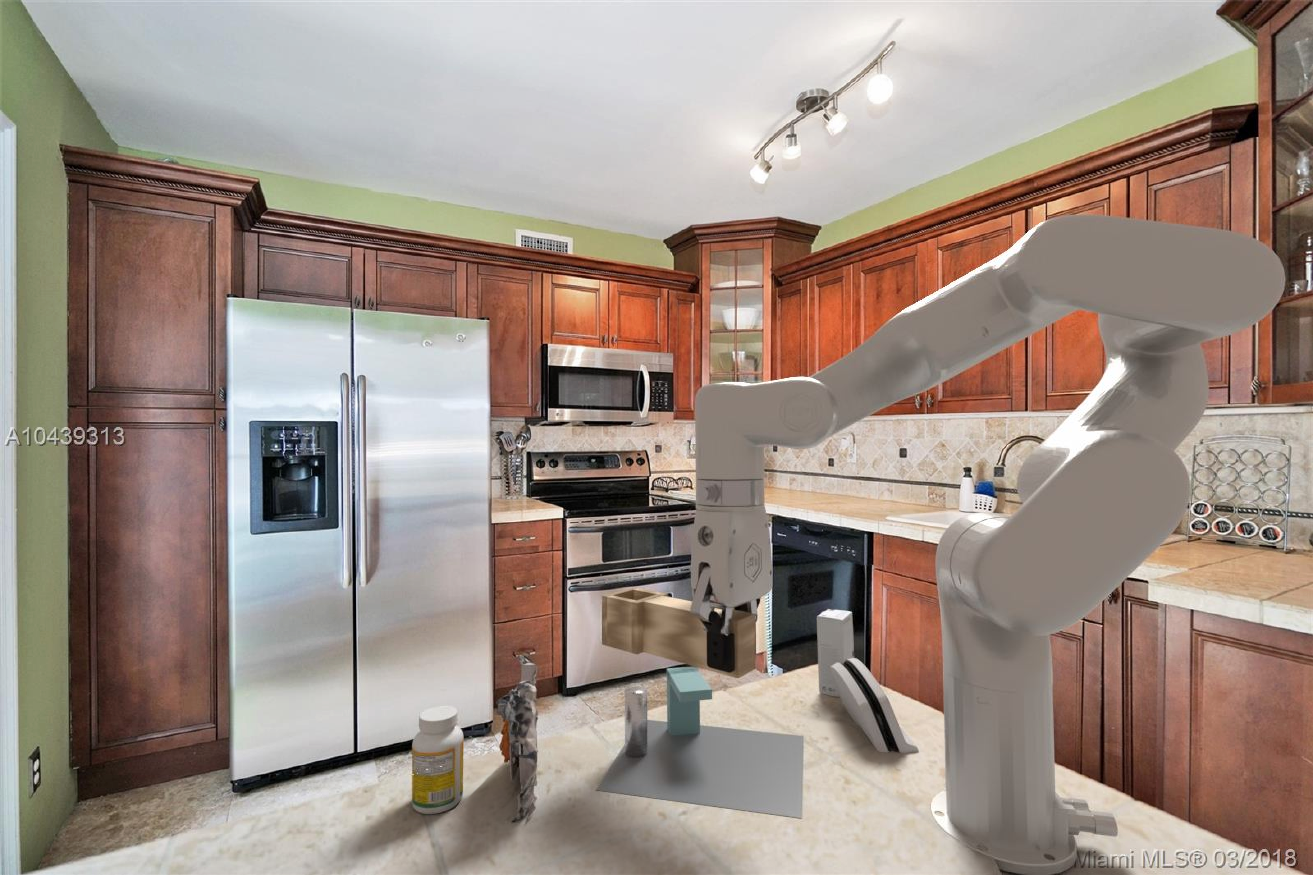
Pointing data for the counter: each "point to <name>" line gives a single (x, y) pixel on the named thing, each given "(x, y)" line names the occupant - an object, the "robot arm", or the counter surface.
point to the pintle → (636, 722)
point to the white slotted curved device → (870, 706)
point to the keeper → (685, 699)
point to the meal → (521, 734)
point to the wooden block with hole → (670, 629)
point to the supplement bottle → (437, 761)
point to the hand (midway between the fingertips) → (731, 662)
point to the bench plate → (715, 770)
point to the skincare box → (833, 646)
